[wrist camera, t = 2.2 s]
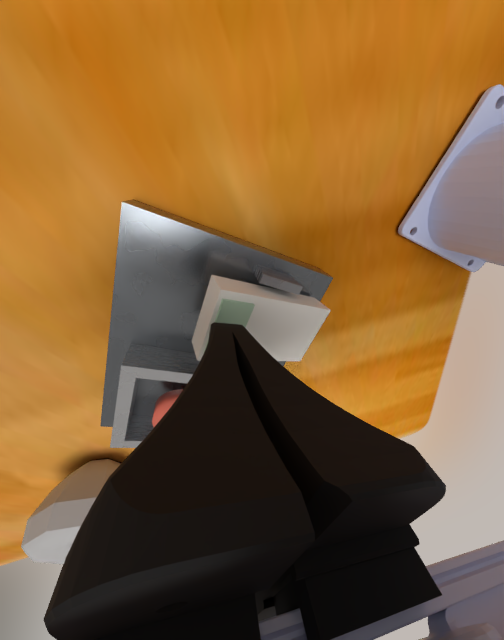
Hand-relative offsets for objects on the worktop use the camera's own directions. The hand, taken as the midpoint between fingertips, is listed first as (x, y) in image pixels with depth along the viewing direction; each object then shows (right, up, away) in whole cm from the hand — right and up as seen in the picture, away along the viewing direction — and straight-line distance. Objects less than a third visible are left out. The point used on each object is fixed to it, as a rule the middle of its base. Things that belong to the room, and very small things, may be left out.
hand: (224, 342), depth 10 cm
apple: (-14, -14, +13) cm, 24 cm away
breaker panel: (-2, -1, +7) cm, 8 cm away
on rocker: (+2, +1, +3) cm, 3 cm away
